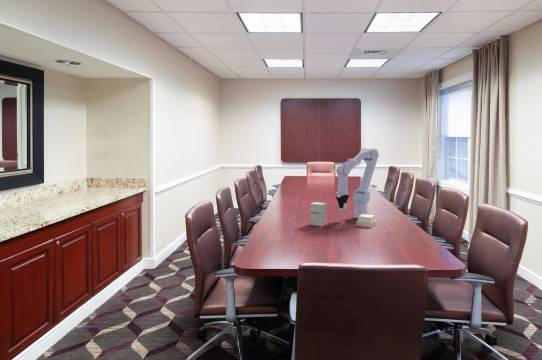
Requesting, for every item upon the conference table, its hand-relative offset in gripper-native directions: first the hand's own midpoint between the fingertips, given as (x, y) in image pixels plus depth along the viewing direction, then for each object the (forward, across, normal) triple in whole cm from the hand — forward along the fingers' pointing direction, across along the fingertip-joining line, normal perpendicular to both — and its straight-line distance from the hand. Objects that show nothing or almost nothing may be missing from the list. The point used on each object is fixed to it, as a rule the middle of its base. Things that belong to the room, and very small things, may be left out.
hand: (342, 207), depth 236 cm
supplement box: (+8, +17, -9) cm, 21 cm away
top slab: (+6, +5, +16) cm, 18 cm away
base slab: (+9, +5, +16) cm, 19 cm away
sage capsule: (+2, 0, 0) cm, 2 cm away
